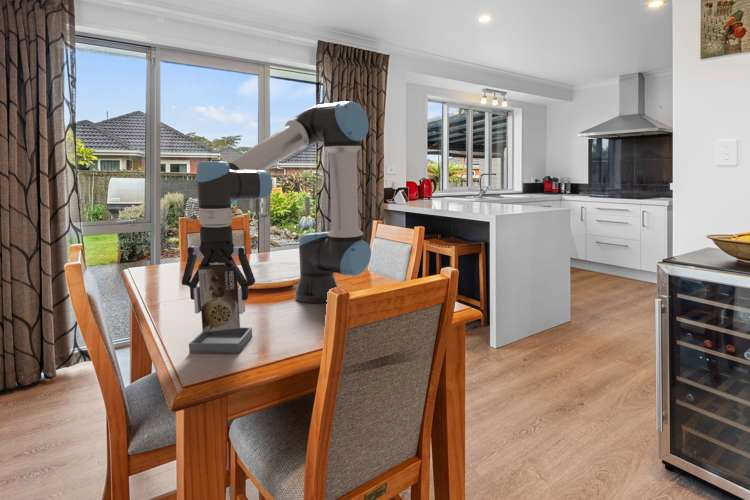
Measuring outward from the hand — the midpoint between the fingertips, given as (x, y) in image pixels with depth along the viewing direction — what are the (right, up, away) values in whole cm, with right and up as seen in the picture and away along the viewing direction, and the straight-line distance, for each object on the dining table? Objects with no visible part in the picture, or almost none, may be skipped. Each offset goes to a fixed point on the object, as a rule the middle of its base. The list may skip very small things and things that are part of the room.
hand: (220, 312), depth 116 cm
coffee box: (0, -4, +1) cm, 4 cm away
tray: (0, -8, +1) cm, 9 cm away
